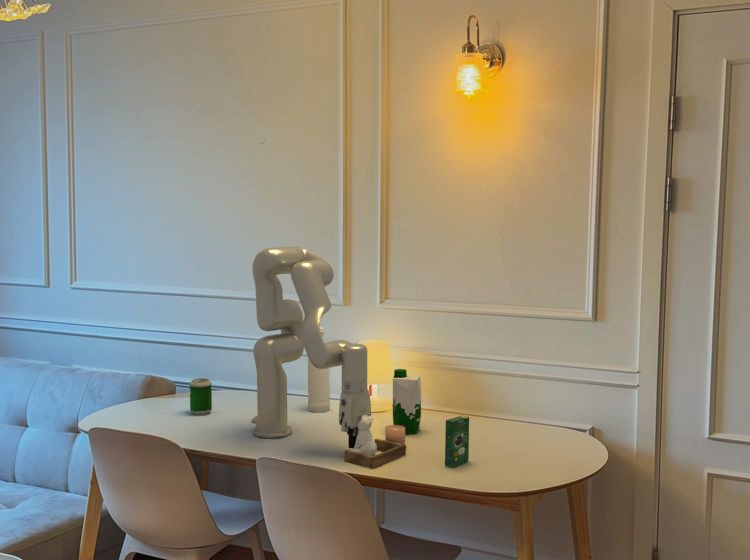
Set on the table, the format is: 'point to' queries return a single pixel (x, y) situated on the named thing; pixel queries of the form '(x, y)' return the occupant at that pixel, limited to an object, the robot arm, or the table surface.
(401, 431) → the tan rounded cylinder
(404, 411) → the milk carton
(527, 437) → the table surface
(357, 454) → the display bay
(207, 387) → the soda can
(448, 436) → the coffee box
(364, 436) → the white creature statuette
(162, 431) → the table surface
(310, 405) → the bottle
